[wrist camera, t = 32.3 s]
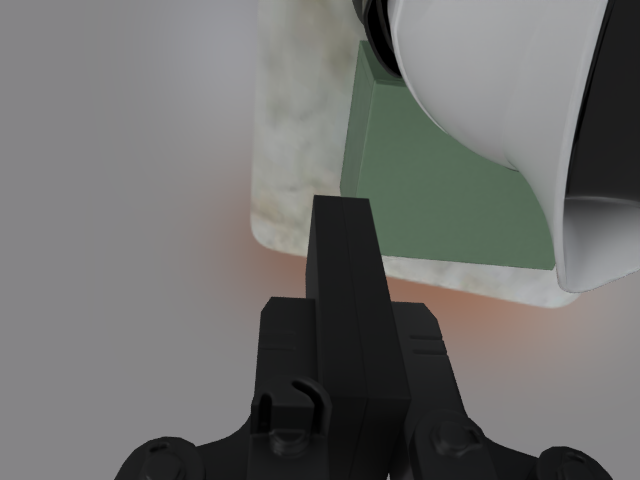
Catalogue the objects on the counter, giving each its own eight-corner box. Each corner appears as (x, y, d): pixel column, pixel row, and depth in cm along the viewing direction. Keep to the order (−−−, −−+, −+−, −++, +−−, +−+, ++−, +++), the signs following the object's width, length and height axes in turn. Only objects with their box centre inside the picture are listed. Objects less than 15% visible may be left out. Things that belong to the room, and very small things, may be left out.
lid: (619, 104, 33) (625, 109, 32) (549, 264, 40) (552, 270, 39) (374, 79, 32) (375, 83, 31) (347, 246, 39) (347, 252, 39)
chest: (547, 57, 40) (601, 98, 33) (499, 198, 48) (535, 257, 41) (359, 40, 39) (373, 78, 32) (339, 187, 46) (347, 246, 39)
